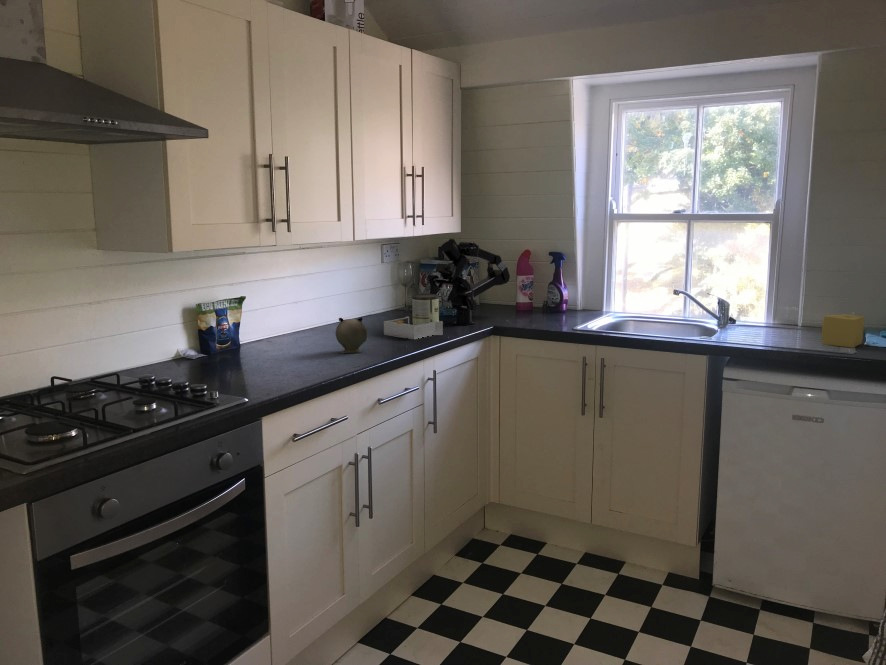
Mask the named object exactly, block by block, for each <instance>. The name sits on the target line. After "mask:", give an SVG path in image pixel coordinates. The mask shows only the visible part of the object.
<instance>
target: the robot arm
mask: <svg viewBox="0 0 886 665" xmlns="http://www.w3.org/2000/svg"><path fill="white" fill-rule="evenodd" d="M440 251H441V252H442V254H443V255H444V257H445V258H446V259H447V260H448V261H450V262H448V263H436V267H435V269H434V272H436V273H439V274H440V277H439V275H437V274H428V275H427V277H426V281H427V283H428V284H429V285H430V286H429V287H430V288H429V294H438V293H439V292H440V291H441V289H442V286H443V285H448V286H452V288H451V290H450V292H449V294H448V296H447V299H446V300H447V302H449V303H451V307H452V309H454V310H456V311H455V322H453V323H452V324H453V325H459V326H469V325H470V326H471V325H475V324H476V322H474V321H473V311H474V310H476V309H477V303H476V301H475V298H476V297H479V296H480V295H481V294H483V293H484V292H486V291H489V290H490V289H491V288H493V287H495V286H502V285H505V284H508V282H509V281H510V278H511V275H510V271H509V269H508V267H507V265H506V264H505V263H504V262H503V260H502V257H501V255H498V254H495V253H493V252H490V251H488V250H485V249H482V248H480V246H479V245H478V244H477V243H476V242H474V241H473V242H472V241H460V242H459V243H457V242H456V240H455V238H449V240H448V241H447V240H446V241H445V242H444V243H443V244H442V245H441V246H440ZM467 257H469V258H470V257H471V258H474V259H477V260H480V261H483V262H484V263H486V264H487V268H486V272H487V276H486V277H485V278H483V279H481V280H480V281H478V282H476V283H474V284H472V285H471V283H470V282H469V281H468V280H467V278H466V277H465V276H464V273H463V271H464V270H465V268H466V267H472V266H471V261H470V259H468V258H467ZM494 265H496V267H497V269H495V268H494V267H493V266H494ZM441 277H442V278H441Z"/></svg>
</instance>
